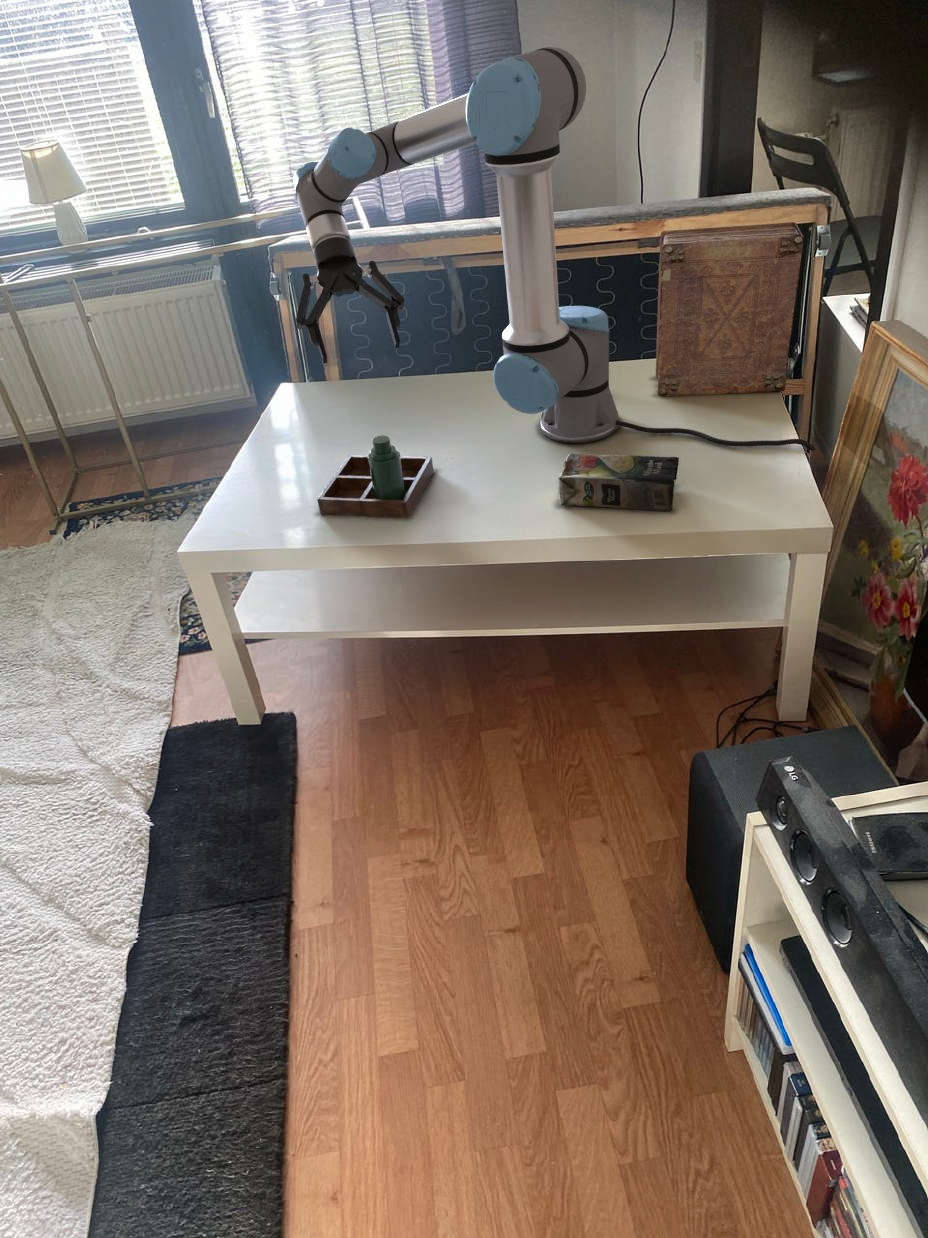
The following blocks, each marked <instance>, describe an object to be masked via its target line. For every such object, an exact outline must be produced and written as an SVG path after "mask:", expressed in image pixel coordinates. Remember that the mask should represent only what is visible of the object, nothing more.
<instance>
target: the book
mask: <svg viewBox="0 0 928 1238" xmlns="http://www.w3.org/2000/svg"><path fill="white" fill-rule="evenodd" d="M804 237H805V236H804V235H803V233H802V231H801V229H800V227H799V225H798V224H797V223H796V222H795V221H794V222H793V221H792V222H779V223H778V222H775V223H765V224H764V223H761V224H745V225H744V224H743V225H729V226H713V227H701V228H700V227H699V228H684V229H670V230H669V229H668V230H662V231H660V237H659V238H660V239H659V266H658V267H659V268H658V292H657V293H658V295H657V319H656V321H657V323H656V327H657V328H656V351H655V352H656V353H655V354H656V355H655V379H656V380H657V396H659V397H674V396H698V395H721V394H722V395H723V394H724V395H725V394H744V393H745V394H746V393H769V392H773V393H774V392H785V390H786V385H787V376H788V370H789V369H788V368H789V360H790V352H791V344H792V343H791V342H792V334H793V327H794V319H795V312H796V302H797V295H798V294H797V293H798V287H799V279H800V269H801V261H802V254H803V246H804V245H803V244H804Z"/></svg>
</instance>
